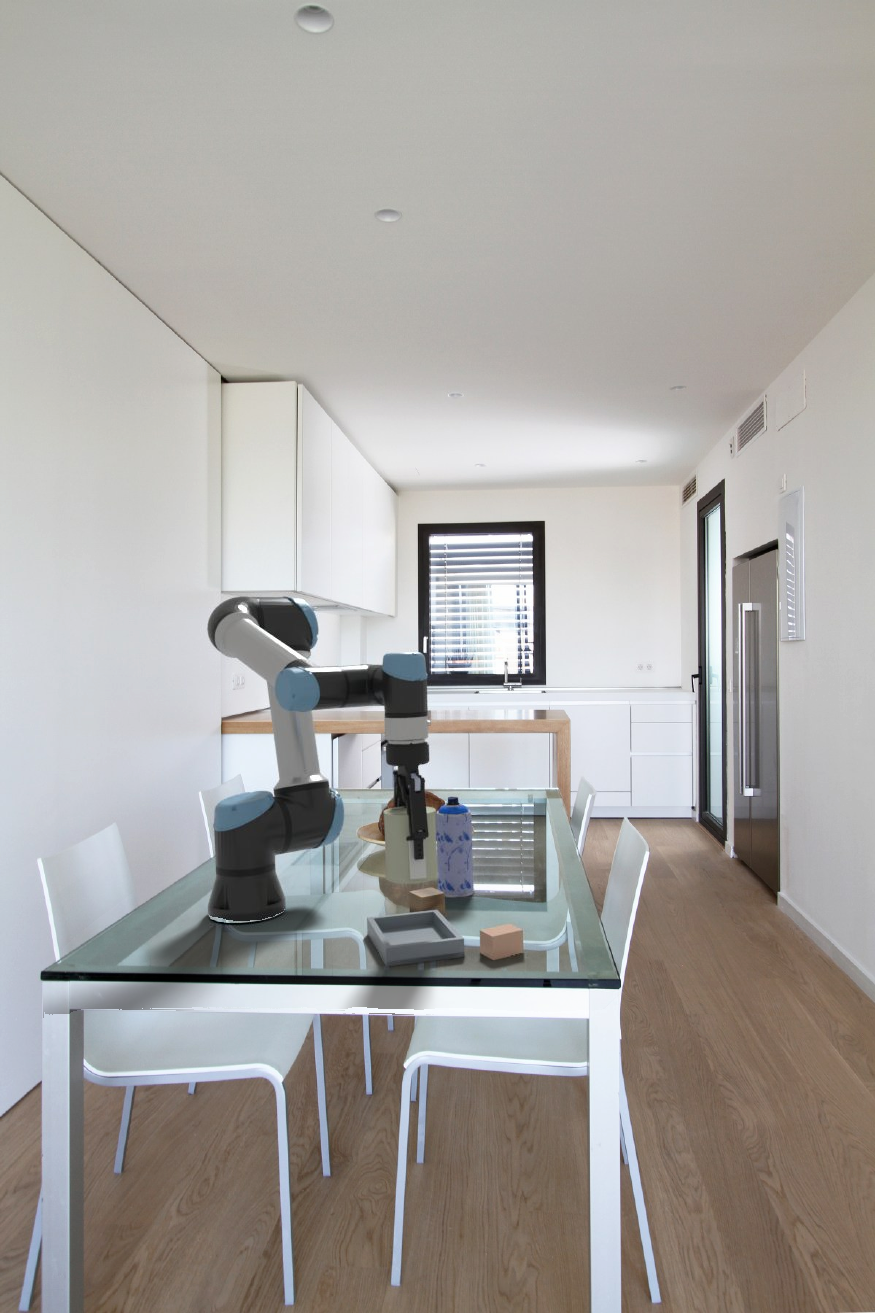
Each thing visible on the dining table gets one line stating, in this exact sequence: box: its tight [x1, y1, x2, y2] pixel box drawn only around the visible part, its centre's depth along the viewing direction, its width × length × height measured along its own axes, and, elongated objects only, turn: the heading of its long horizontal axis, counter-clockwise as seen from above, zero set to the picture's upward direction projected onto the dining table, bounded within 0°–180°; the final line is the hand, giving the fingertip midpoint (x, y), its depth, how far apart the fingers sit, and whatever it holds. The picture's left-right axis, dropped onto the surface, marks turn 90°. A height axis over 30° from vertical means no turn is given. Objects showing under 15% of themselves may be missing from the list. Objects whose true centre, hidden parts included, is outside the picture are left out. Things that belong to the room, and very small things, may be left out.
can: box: [382, 806, 438, 885], centre depth 148 cm, size 9×9×12 cm
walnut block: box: [408, 886, 447, 920], centre depth 164 cm, size 5×5×5 cm
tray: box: [366, 910, 466, 968], centre depth 148 cm, size 17×13×3 cm
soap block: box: [479, 923, 524, 961], centre depth 143 cm, size 6×4×4 cm, turn 119°
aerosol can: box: [436, 796, 476, 898], centre depth 181 cm, size 8×8×20 cm
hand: (411, 871), depth 148 cm, fingers closed on can, 9 cm apart
